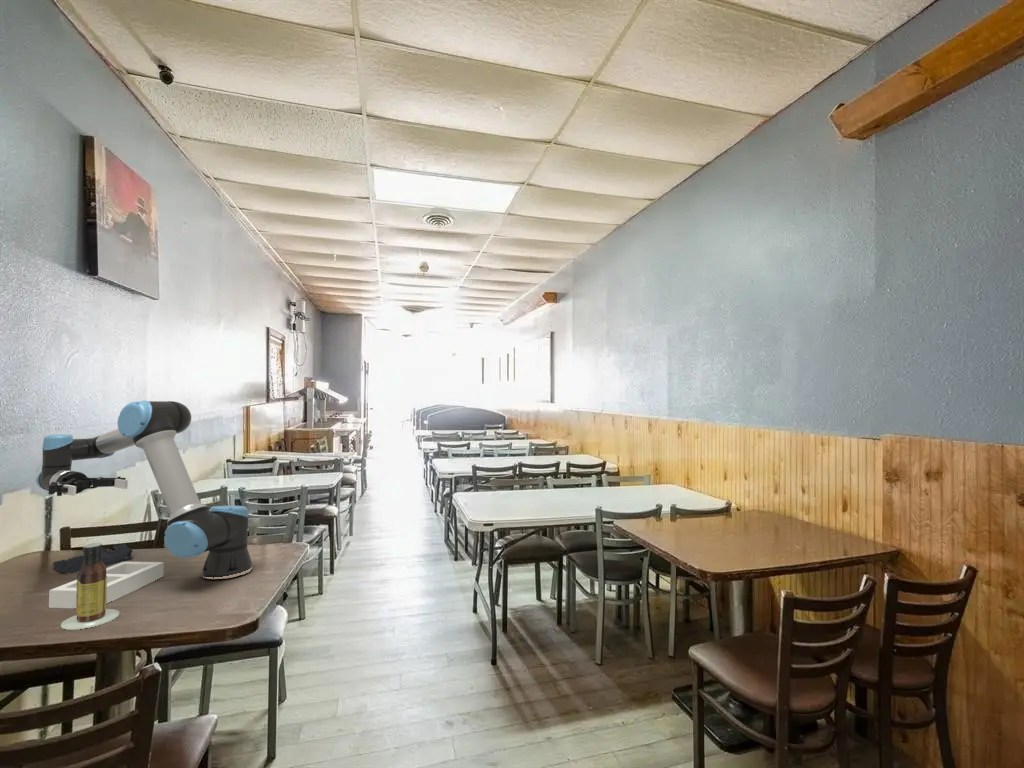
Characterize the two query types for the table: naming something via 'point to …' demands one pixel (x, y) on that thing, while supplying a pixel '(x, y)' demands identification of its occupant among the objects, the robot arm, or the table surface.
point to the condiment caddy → (111, 582)
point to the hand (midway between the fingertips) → (101, 487)
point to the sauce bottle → (91, 585)
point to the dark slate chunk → (107, 557)
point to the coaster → (77, 625)
